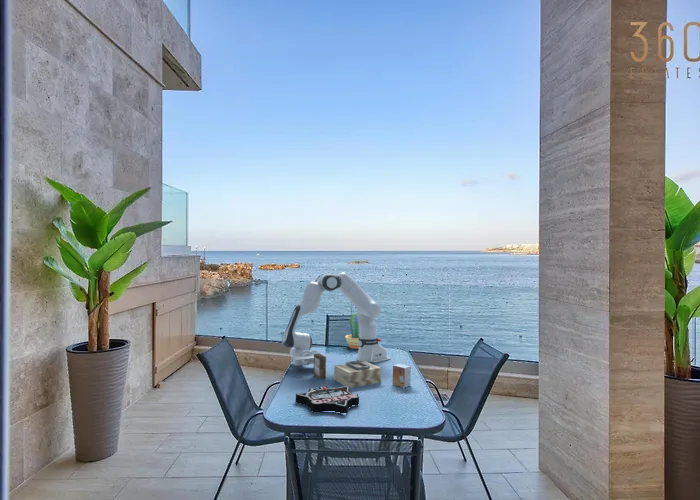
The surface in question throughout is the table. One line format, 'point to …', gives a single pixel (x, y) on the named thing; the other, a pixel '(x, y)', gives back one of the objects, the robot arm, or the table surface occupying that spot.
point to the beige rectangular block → (357, 374)
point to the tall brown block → (319, 366)
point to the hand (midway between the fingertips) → (315, 362)
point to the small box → (401, 375)
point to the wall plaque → (328, 399)
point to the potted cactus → (353, 332)
